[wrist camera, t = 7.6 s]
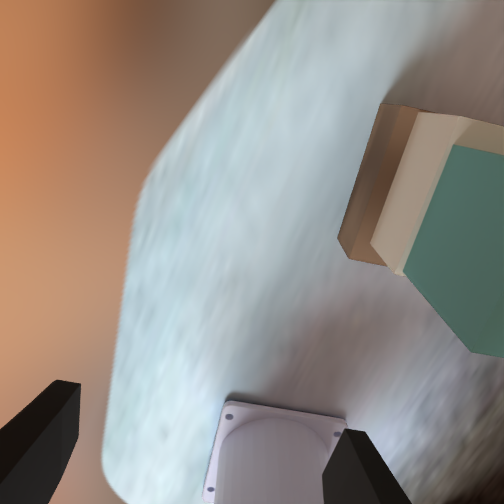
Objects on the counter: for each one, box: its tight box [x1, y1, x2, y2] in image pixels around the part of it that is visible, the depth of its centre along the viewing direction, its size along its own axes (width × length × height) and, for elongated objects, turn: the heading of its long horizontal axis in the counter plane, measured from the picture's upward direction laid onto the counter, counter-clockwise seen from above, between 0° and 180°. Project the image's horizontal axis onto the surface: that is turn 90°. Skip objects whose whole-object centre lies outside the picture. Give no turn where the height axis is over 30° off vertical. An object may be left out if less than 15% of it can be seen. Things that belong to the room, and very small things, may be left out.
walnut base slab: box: [337, 104, 439, 266], centre depth 17 cm, size 6×6×3 cm
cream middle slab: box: [370, 112, 504, 277], centre depth 14 cm, size 6×6×3 cm
